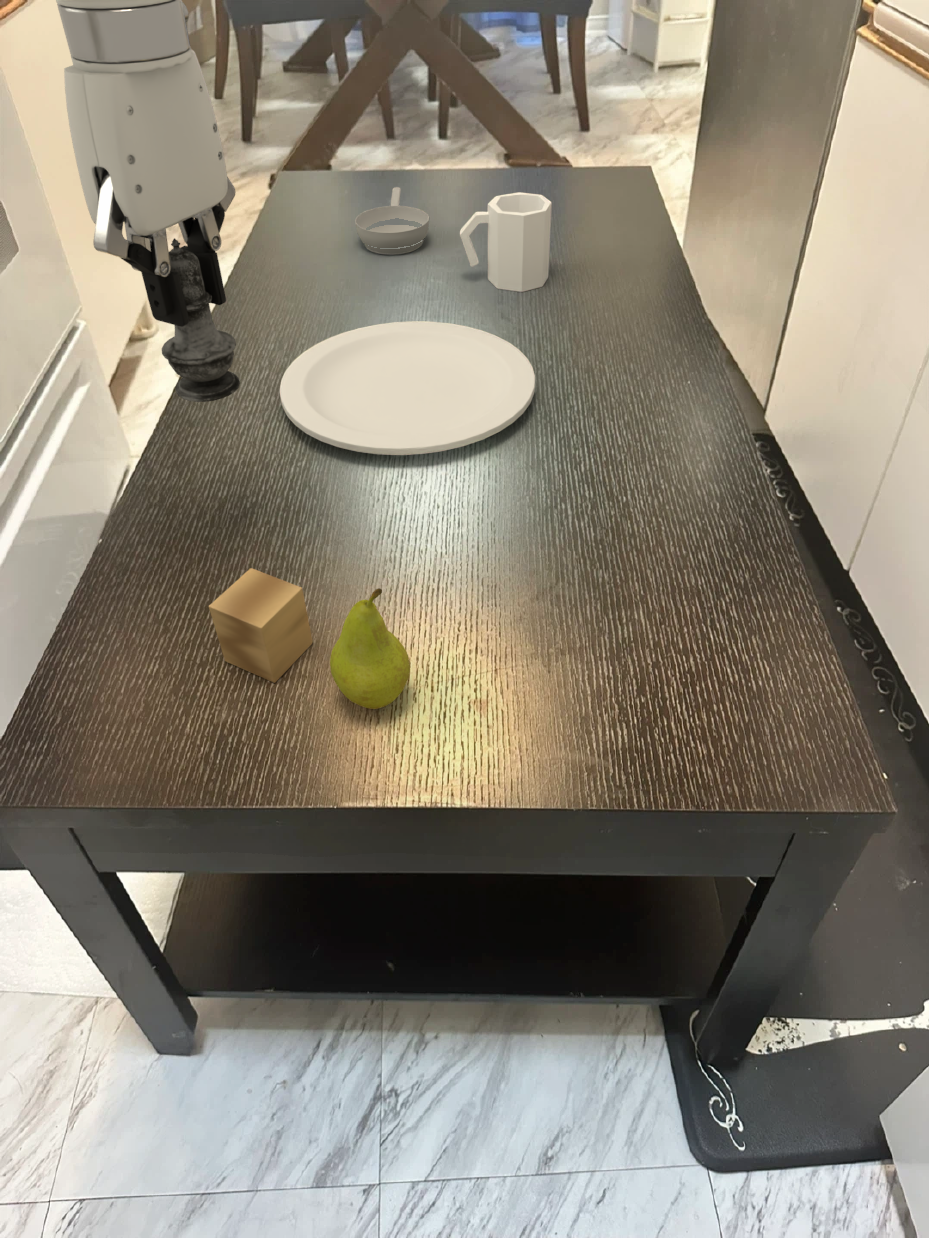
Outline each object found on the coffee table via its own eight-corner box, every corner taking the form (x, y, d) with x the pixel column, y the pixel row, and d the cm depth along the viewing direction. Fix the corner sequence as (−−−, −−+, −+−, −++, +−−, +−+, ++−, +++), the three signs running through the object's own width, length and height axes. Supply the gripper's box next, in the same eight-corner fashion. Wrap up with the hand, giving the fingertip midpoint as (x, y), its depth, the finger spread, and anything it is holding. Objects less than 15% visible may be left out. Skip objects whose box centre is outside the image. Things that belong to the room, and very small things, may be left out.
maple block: (224, 661, 70) (208, 606, 66) (264, 622, 73) (250, 567, 69) (274, 683, 68) (260, 628, 64) (313, 642, 71) (302, 587, 67)
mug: (545, 265, 124) (548, 191, 118) (551, 291, 118) (554, 215, 111) (460, 267, 124) (458, 194, 118) (461, 293, 118) (459, 217, 111)
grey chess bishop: (204, 411, 71) (168, 259, 62) (156, 390, 73) (116, 242, 65) (258, 382, 74) (231, 235, 66) (211, 362, 77) (179, 219, 69)
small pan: (354, 258, 128) (351, 231, 125) (364, 213, 141) (362, 187, 138) (429, 257, 127) (427, 229, 125) (432, 212, 140) (431, 186, 138)
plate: (417, 318, 113) (416, 300, 112) (586, 395, 99) (588, 376, 97) (233, 399, 99) (228, 380, 98) (397, 503, 85) (395, 482, 83)
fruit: (343, 666, 69) (323, 547, 61) (417, 671, 69) (407, 551, 61) (328, 723, 65) (304, 604, 57) (406, 728, 65) (394, 609, 56)
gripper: (172, 9, 63) (222, 266, 76) (-20, 54, 53) (75, 344, 65) (255, 17, 61) (293, 282, 73) (71, 67, 50) (152, 366, 63)
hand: (190, 309), depth 69 cm, fingers closed on grey chess bishop, 3 cm apart
